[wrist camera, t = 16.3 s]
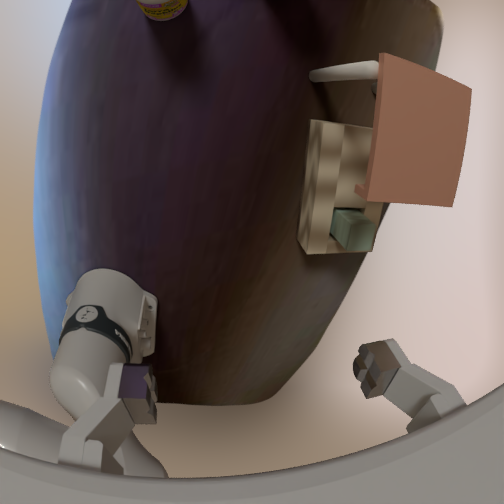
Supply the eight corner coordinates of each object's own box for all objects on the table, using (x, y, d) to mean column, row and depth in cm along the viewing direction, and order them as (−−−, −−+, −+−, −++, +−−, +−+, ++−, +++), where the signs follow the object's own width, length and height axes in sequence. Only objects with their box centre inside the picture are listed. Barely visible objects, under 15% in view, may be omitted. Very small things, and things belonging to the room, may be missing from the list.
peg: (346, 201, 48) (376, 225, 40) (342, 222, 50) (370, 250, 41) (325, 200, 48) (352, 225, 39) (321, 222, 49) (346, 251, 41)
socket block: (356, 236, 53) (372, 251, 48) (295, 237, 51) (306, 254, 46) (374, 128, 44) (395, 134, 38) (308, 118, 42) (323, 122, 36)
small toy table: (383, 169, 47) (452, 207, 32) (301, 162, 45) (354, 200, 29) (394, 82, 40) (471, 88, 24) (309, 63, 37) (371, 48, 22)
